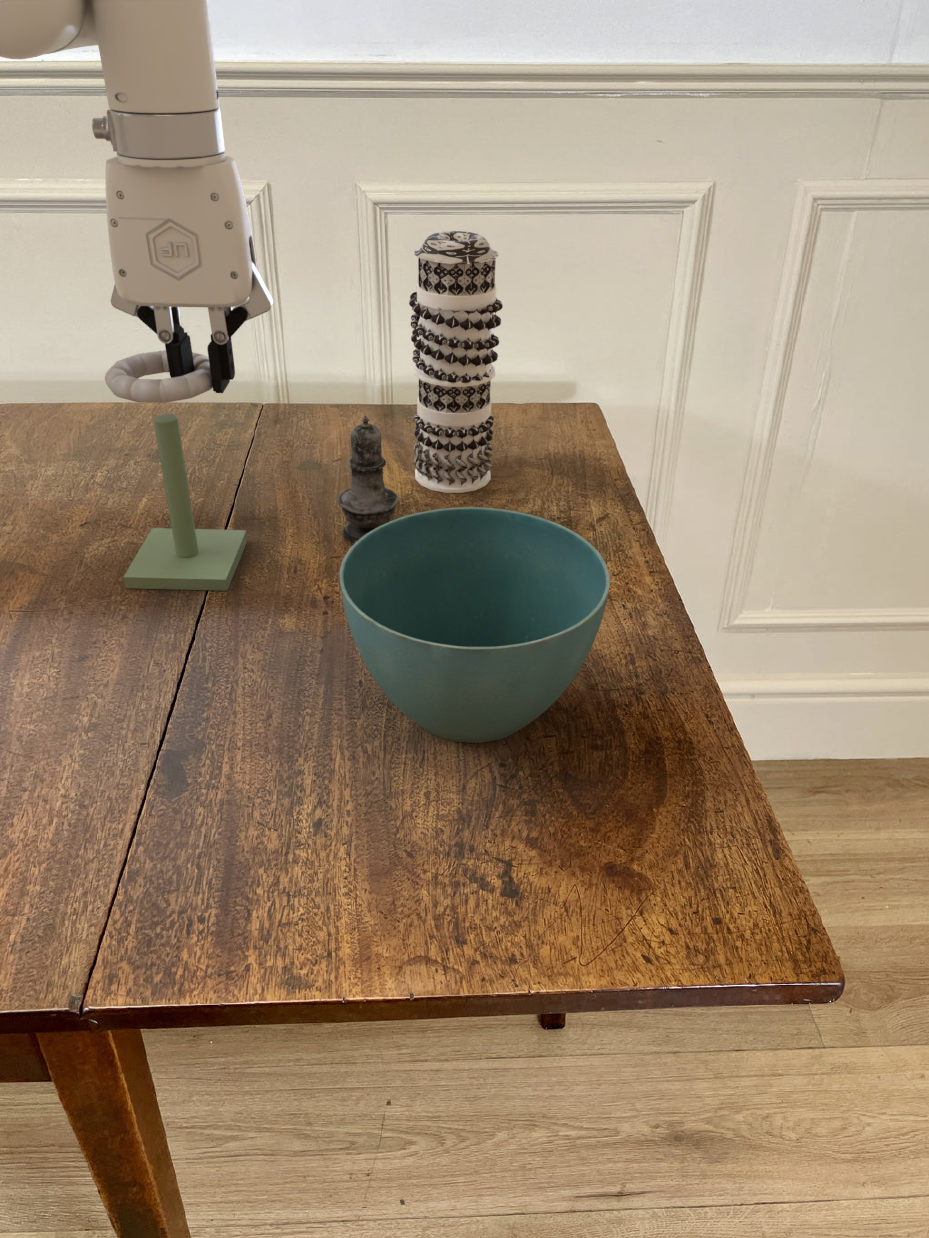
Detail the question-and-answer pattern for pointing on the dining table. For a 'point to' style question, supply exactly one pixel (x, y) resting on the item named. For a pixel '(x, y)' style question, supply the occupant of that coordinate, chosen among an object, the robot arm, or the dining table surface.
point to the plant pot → (473, 616)
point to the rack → (183, 532)
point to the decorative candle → (454, 360)
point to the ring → (157, 390)
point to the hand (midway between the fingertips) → (204, 385)
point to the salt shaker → (366, 485)
